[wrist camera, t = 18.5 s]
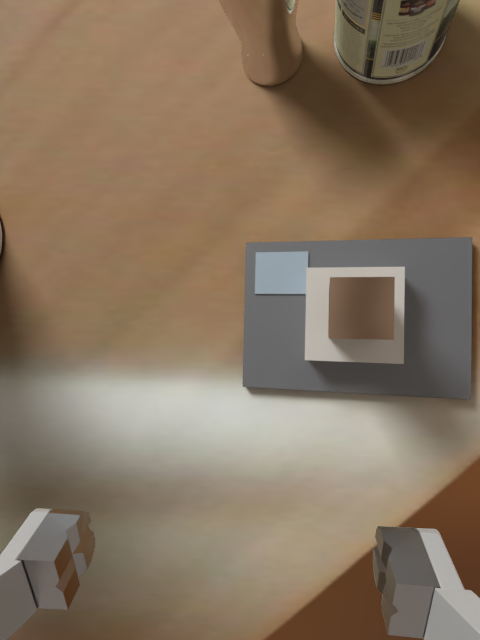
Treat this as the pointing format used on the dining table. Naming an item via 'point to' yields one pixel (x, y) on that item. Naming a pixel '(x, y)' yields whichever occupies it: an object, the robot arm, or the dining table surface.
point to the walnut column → (361, 308)
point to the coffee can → (390, 36)
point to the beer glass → (266, 38)
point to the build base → (420, 322)
